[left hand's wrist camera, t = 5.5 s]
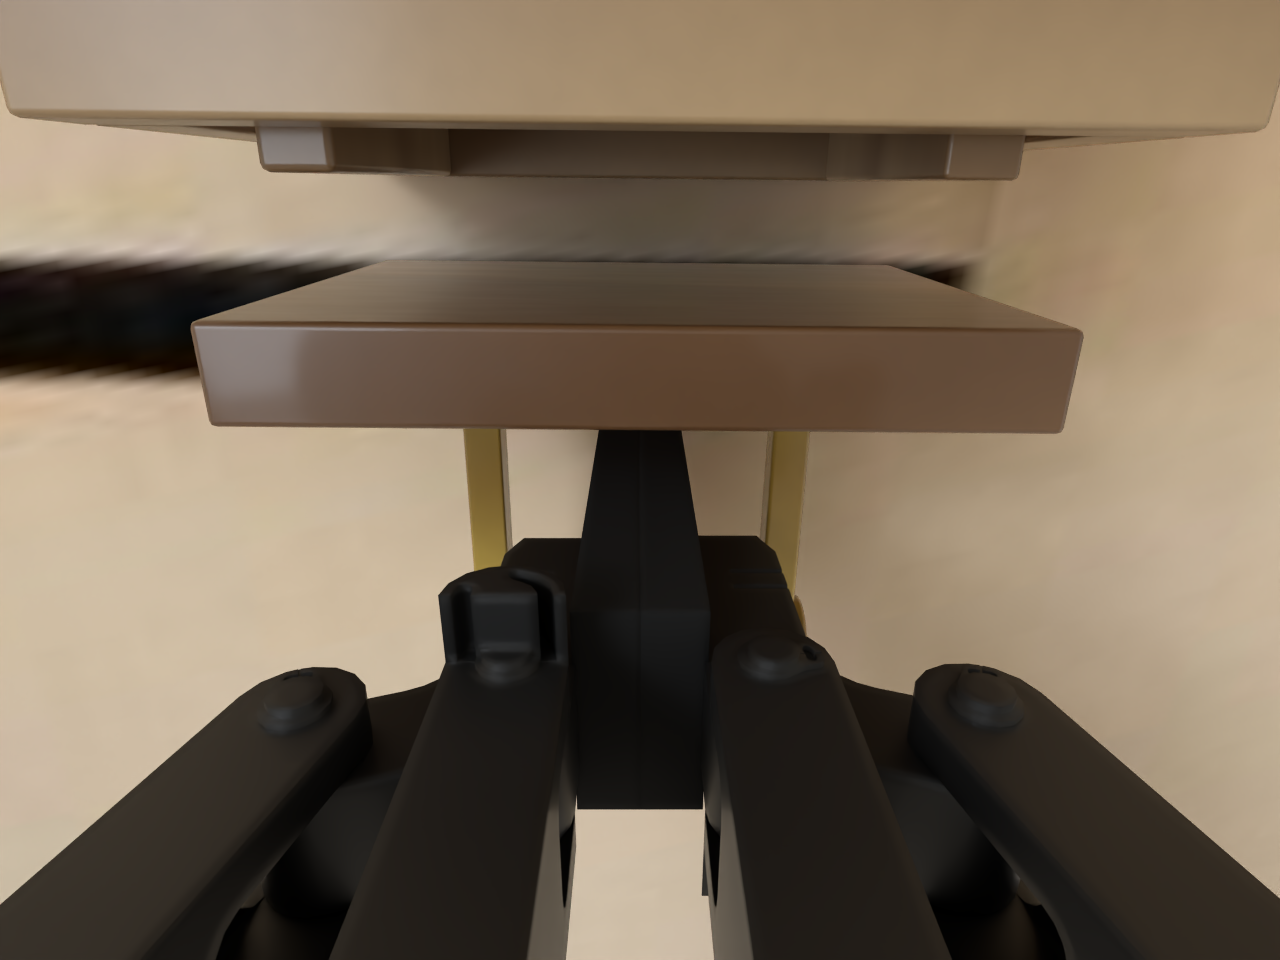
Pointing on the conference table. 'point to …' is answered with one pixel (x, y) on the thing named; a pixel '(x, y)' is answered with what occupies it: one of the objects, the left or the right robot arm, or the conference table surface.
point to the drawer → (637, 321)
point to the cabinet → (651, 66)
